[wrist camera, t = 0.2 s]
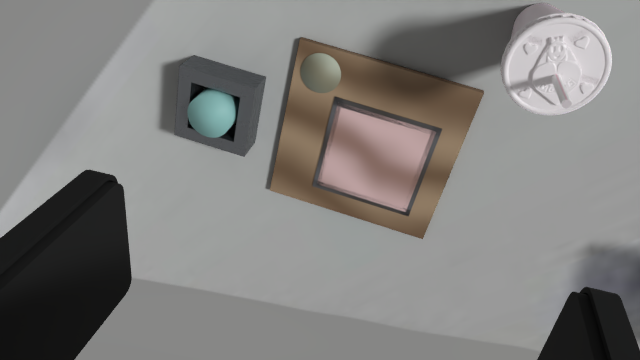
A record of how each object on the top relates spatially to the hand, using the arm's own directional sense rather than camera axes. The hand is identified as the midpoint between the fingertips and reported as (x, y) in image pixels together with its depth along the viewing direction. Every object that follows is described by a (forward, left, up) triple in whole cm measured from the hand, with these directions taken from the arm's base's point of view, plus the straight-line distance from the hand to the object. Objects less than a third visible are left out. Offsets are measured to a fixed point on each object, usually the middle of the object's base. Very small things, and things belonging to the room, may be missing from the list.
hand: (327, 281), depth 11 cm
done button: (+16, -15, -36) cm, 42 cm away
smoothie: (+2, +9, -36) cm, 37 cm away
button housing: (+16, -15, -36) cm, 42 cm away
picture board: (+16, -1, -36) cm, 39 cm away
